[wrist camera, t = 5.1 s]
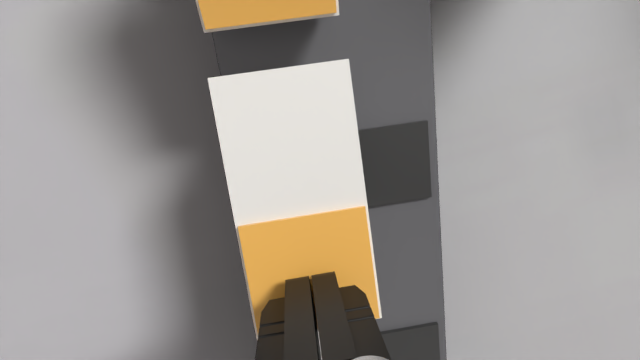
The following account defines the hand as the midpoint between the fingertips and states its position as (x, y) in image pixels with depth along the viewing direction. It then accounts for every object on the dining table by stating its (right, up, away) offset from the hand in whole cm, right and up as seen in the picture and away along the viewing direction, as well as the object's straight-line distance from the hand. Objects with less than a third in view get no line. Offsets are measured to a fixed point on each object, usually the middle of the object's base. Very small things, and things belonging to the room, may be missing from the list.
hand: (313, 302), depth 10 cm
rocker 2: (0, +3, +1) cm, 3 cm away
